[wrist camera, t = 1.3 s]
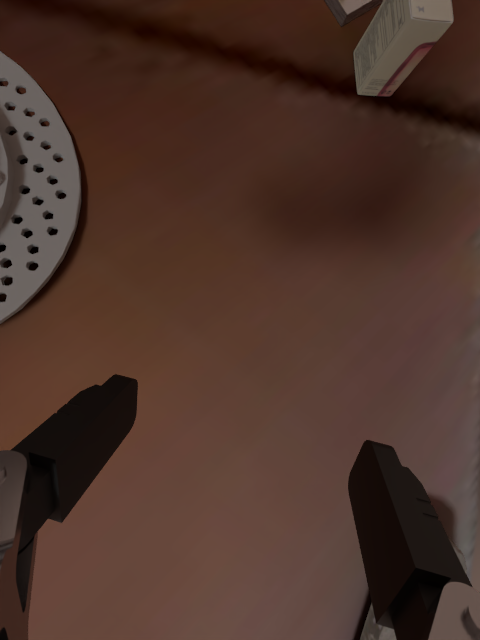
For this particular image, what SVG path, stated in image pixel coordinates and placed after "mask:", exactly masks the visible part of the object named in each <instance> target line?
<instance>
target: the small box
mask: <svg viewBox="0 0 480 640" xmlns="http://www.w3.org/2000/svg"><path fill="white" fill-rule="evenodd" d="M452 23H453V9H452V0H384V1H383V2H382V4H381V6H380V8H379V9H378V11H377V13H376V14H375V16H374V18H373V20H372V21H371V23H370V25H369V26H368V28H367V30H366V31H365V33H364V35H363V37H362V38H361V40H360V42H359V43H358V45H357V47H356V49H355V50H354V66H355V76H356V86H357V94H358V95H369V96H391V95H392V94H393V93H394V92H395V90H396V89H397V88H398V87H399V86H400V85H401V83H402V82H403V81H404V80H405V79H406V77H407V76H408V75H409V74H410V73H411V72H412V70H413V69H414V68H415V67H416V66H417V64H418V63H419V62H420V61H421V60H422V58H423V57H424V56H425V55H426V54H427V53H428V51H429V50H430V49H431V48H432V47H433V45H434V44H435V43H436V42H437V41H438V40H439V38H440V37H441V36H442V35H443V34H444V33H445V31H446V30H447V29H448V28H449V27H450V25H451V24H452Z"/></svg>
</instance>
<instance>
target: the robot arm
mask: <svg viewBox="0 0 480 640" xmlns="http://www.w3.org/2000/svg"><path fill="white" fill-rule="evenodd" d="M137 390H138V382H137V380H136V379H132V378H129V377H125V376H121V375H117V374H115V375H113V376H112V377H111V378H109V379H108V380H107V381H106V382H105V383H104V384H103V385H102V386H99V385H94V386H92V387H89V388H87V389H85V390H83V391H81V392H79V393H78V394H77V395H76V396H74V397H73V398H72V399H71V400H70V401H69V402H68V403H67V404H65V405H64V406H63V407H61V408H60V409H59V410H58V411H57V413H54V414H53V415H52V416H51V417H50V418H48V419H47V420H46V421H45V422H44V423H42V424H41V425H40V426H39V427H38V428H37V429H35V430H34V431H33V432H32V433H31V434H29V435H28V436H27V437H26V438H25V439H23V440H22V441H21V442H20V443H19V444H18V445H16V446H15V447H14V448H13V449H11V450H5V451H0V640H28V619H29V609H30V600H31V591H32V582H33V573H34V564H35V555H36V546H37V537H38V532H37V531H38V530H39V529H40V528H41V526H42V525H43V524H44V523H45V521H46V520H47V519H51V520H54V521H58V522H61V523H62V522H63V521H64V519H65V518H66V517H67V515H68V514H69V513H70V511H71V510H72V509H73V507H74V506H75V504H76V503H77V502H78V500H79V499H80V498H81V496H82V495H83V494H84V492H85V491H86V490H87V488H88V487H89V486H90V484H91V483H92V482H93V480H94V479H95V477H96V476H97V475H98V473H99V472H100V471H101V469H102V468H103V467H104V465H105V464H106V463H107V461H108V460H109V459H110V457H111V456H112V455H113V453H114V452H115V450H116V449H117V448H118V446H119V445H120V444H121V442H122V441H123V440H124V438H125V437H126V436H127V434H128V433H129V432H130V430H131V428H132V426H133V424H134V421H135V418H136V411H137ZM348 491H349V497H350V501H351V506H352V511H353V516H354V520H355V525H356V530H357V535H358V539H359V544H360V549H361V554H362V558H363V563H364V568H365V573H366V577H367V582H368V587H369V592H370V596H371V601H372V606H373V611H374V615H375V620H376V624H378V625H381V626H384V627H388V628H391V629H394V631H395V635H396V639H397V640H480V592H479V591H477V590H476V589H474V588H473V587H472V585H471V583H470V581H469V579H468V577H467V575H466V573H465V571H464V569H463V567H462V565H461V563H460V561H459V559H458V557H457V554H456V552H455V550H454V548H453V546H452V544H451V542H450V540H449V538H448V536H447V534H446V532H445V530H444V528H443V526H442V524H441V522H440V521H438V516H437V514H436V512H435V510H434V508H433V506H432V505H431V504H430V503H431V501H430V499H429V497H428V495H427V493H426V491H425V489H424V487H423V485H422V484H421V482H420V481H419V480H418V479H417V478H416V476H415V475H414V474H413V473H412V472H411V471H410V469H409V468H407V467H403V466H402V465H401V463H400V461H399V459H398V456H397V454H396V452H395V450H394V448H393V447H392V446H389V445H385V444H381V443H378V442H374V441H370V440H366V441H365V442H364V443H363V445H362V447H361V450H360V452H359V454H358V456H357V459H356V461H355V463H354V465H353V467H352V470H351V472H350V475H349V481H348Z"/></svg>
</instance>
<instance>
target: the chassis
mask: <svg viewBox="0 0 480 640" xmlns="http://www.w3.org/2000/svg"><path fill="white" fill-rule="evenodd" d="M383 1H384V0H325V2H326V3H327V5H328V7H329V8H330V10H331V11H332V13H333V15H334V16H335V18H336V19H337V21H338V22H339V24H340V26H341V27H342V26H343V25H345V24H347V23H348V22H350V21H352V20H353V19H355V18H357V17H359V16H360V15H362V14H364V13H365V12H367V11H369V10H370V9H372V8H374V7H375V6H377V5H379V4H381V3H382V2H383Z"/></svg>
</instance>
